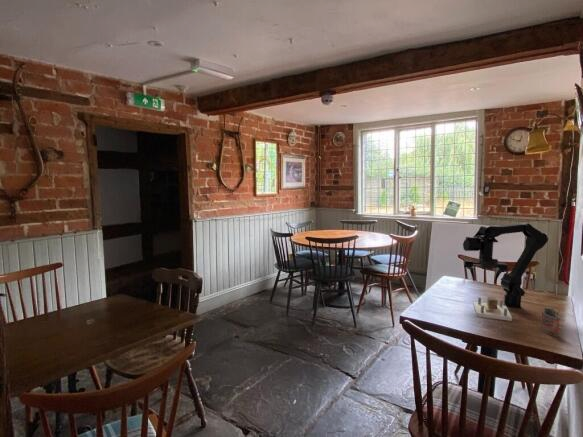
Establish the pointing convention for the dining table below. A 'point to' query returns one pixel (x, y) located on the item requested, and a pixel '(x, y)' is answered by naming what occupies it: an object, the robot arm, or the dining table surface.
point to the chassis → (482, 313)
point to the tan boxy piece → (492, 305)
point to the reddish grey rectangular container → (550, 321)
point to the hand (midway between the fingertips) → (483, 281)
